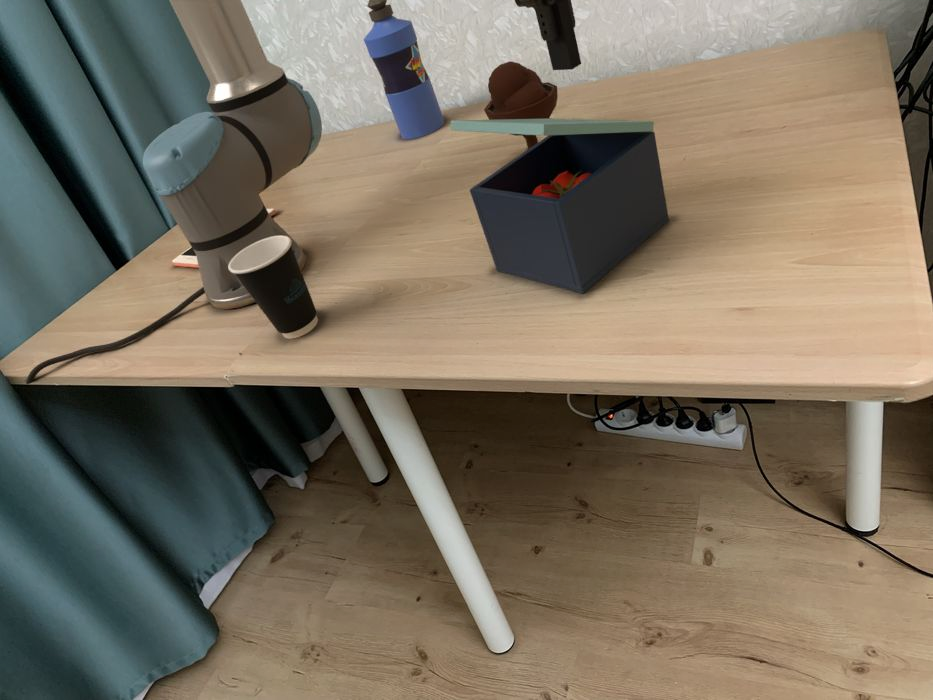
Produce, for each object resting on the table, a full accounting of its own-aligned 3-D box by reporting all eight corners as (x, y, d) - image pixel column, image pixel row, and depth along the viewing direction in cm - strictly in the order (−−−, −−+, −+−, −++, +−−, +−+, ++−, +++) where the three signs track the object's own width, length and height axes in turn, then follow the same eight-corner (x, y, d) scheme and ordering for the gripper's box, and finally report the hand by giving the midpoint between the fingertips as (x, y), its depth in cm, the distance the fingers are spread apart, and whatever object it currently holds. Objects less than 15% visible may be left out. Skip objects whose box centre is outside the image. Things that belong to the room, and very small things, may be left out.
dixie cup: (275, 320, 91) (234, 248, 85) (331, 301, 91) (294, 227, 84) (267, 354, 85) (221, 279, 79) (327, 334, 84) (286, 256, 78)
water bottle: (394, 143, 136) (342, 9, 122) (409, 124, 143) (362, -4, 129) (436, 133, 132) (388, -5, 119) (450, 114, 139) (406, -19, 125)
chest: (583, 294, 73) (559, 203, 67) (496, 270, 83) (469, 189, 77) (669, 220, 80) (654, 131, 74) (579, 206, 90) (560, 127, 84)
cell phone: (277, 212, 125) (275, 208, 124) (202, 268, 114) (199, 263, 114) (247, 212, 130) (245, 208, 130) (173, 266, 120) (170, 261, 119)
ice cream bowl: (575, 159, 102) (550, 56, 94) (502, 181, 104) (472, 82, 96) (568, 135, 111) (545, 38, 102) (500, 155, 113) (472, 63, 104)
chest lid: (543, 135, 64) (544, 124, 63) (450, 130, 74) (450, 120, 73) (653, 131, 74) (654, 121, 73) (558, 127, 84) (559, 118, 83)
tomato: (627, 220, 81) (615, 160, 77) (597, 262, 76) (582, 201, 72) (556, 221, 87) (541, 165, 83) (524, 260, 81) (506, 203, 77)
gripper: (481, -204, 54) (553, 93, 67) (586, -241, 60) (633, 40, 73) (423, -177, 60) (500, 93, 73) (524, -213, 65) (579, 44, 78)
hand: (566, 66), depth 73 cm, fingers closed
